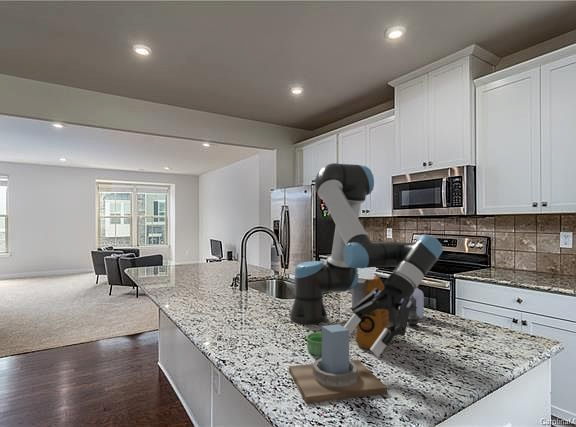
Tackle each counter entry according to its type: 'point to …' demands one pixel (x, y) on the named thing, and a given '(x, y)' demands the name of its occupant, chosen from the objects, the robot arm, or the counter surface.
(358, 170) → the robot arm
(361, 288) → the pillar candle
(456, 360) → the counter surface
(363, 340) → the coffee package
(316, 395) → the collar plate
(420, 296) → the soap bottle
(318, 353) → the ramekin
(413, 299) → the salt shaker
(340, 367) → the slate peg
